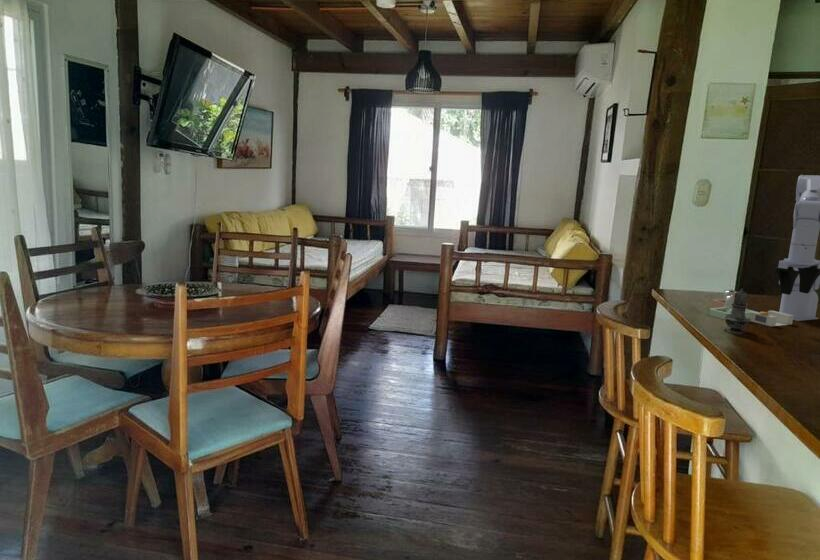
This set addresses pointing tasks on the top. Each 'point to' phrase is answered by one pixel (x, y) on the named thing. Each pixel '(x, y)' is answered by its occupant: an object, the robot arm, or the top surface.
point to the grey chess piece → (737, 314)
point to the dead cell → (728, 292)
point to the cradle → (771, 318)
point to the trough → (720, 314)
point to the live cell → (728, 304)
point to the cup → (718, 304)
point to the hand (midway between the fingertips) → (794, 293)
